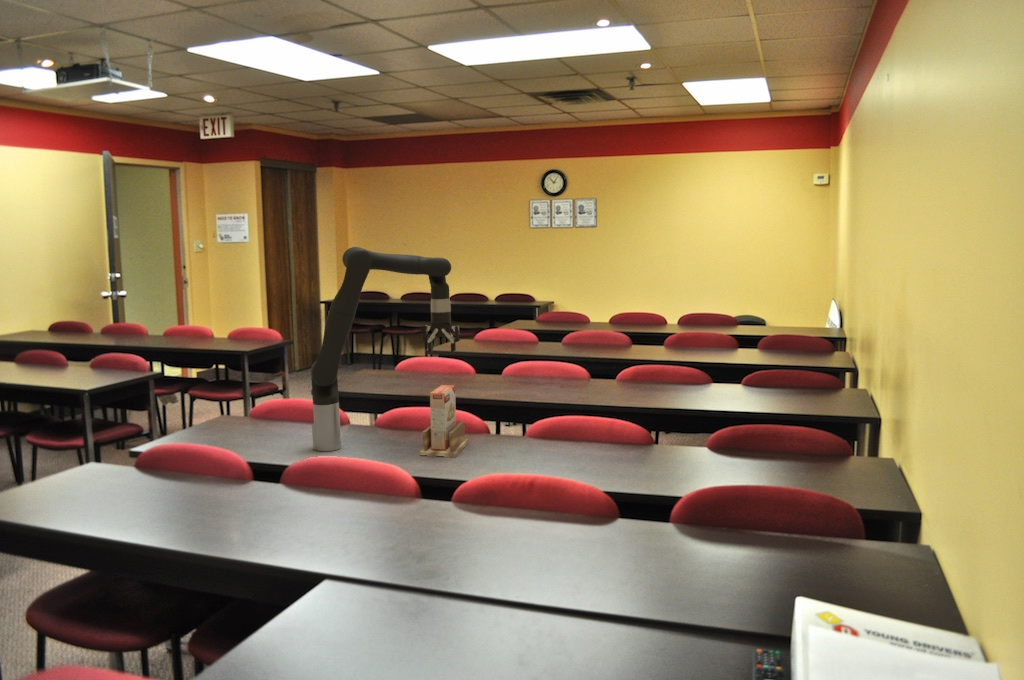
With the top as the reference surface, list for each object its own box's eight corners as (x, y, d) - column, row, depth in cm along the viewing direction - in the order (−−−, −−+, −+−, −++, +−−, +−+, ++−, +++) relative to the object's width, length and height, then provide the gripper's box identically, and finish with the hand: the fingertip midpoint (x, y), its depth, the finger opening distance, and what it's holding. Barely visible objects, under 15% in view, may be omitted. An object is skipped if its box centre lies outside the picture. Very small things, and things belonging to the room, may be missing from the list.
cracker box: (446, 450, 273) (445, 393, 270) (430, 450, 274) (428, 392, 271) (457, 439, 287) (455, 384, 283) (441, 439, 288) (440, 384, 285)
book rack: (419, 455, 273) (418, 432, 271) (434, 441, 290) (434, 419, 289) (455, 457, 270) (454, 433, 269) (468, 442, 288) (467, 420, 286)
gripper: (419, 311, 291) (421, 353, 294) (456, 311, 288) (457, 354, 291) (425, 309, 298) (427, 350, 301) (461, 309, 296) (462, 351, 298)
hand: (442, 352), depth 296 cm, fingers open, 8 cm apart
